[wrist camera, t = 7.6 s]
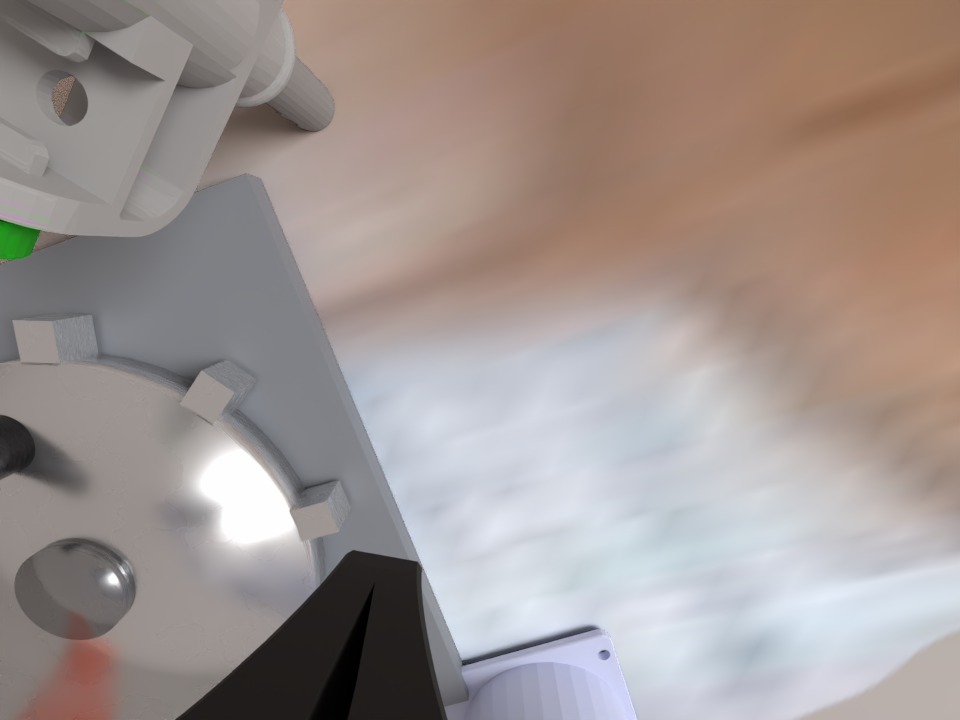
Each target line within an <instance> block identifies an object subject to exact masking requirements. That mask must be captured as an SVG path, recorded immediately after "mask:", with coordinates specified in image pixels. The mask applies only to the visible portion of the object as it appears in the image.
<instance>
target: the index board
mask: <svg viewBox="0 0 960 720" xmlns="http://www.w3.org/2000/svg"><path fill="white" fill-rule="evenodd" d="M50 314H90V315H92V318H93V324H94V330H95V336H96V342H97V348H98V353H102V354H108V355H114V356H120V357H126V358H131V359H135V360H138V361H142V362H145V363H149V364H152V365H156V366H159V367H162V368H164V369H167V370H169V371H171V372H174V373H176V374H179V375H181V376H183V377H186V378H188V379H190V380H192V381H195V379H196V378H197V376H198V375H199V373H200V372H201V370H204V369H206V368H208V367H211V366H213V365H215V364H217V363H220V362H222V361H224V360H228V361H230V362H231V363H233V364H234V365H236V366H237V367H239V368H240V369H242V370H243V371H244V372H246V373H247V374H249V375H250V376H252V377H253V378H255V379H256V382H255V383H254V385H253V386H252V388H251V389H250V391H249V392H248V394H247V395H246V396H245V398H244V399H243V401H242V402H241V404H240V405H239V407H238V408H237V409H238V410H239V411H241V412H242V413H243V414H245V415H246V416H247V417H248V418H249V419H250V420H251V421H252V422H253V423H254V424H255V425H257V426H258V427H259V428H260V429H261V430H262V431H263V432H264V433H265V434H266V435H267V436H268V437H269V438H270V440H271V441H272V442H273V443H274V444H275V445H276V446H277V448H278V449H279V450H280V451H281V452H282V453H283V455H284V456H285V457H286V459H287V460H288V462H289V463H290V465H291V466H292V468H293V469H294V471H295V472H296V474H297V475H298V477H299V478H300V480H301V482H302V484H303V486H304V488H305V489H308V488H311V487H315V486H319V485H322V484H326V483H330V482H333V481H337V480H340V483H341V486H342V488H343V491H344V493H345V496H346V498H347V501H348V503H349V506H350V510H349V512H348V514H347V516H346V518H345V520H344V522H343V524H342V526H341V528H340V530H339V532H336V533H333V534H329V535H325V536H322V539H323V544H324V550H325V566H326V578H327V577H328V575H329V574H330V573H331V572H332V571H333V570H334V568H335V567H336V566H337V565H338V563H339V562H340V561H341V560H342V558H343V557H344V556H345V554H347V553H349V552H350V551H352V550H356V551H362V552H367V553H373V554H379V555H384V556H390V557H396V558H401V559H407V560H412V561H418V563H419V564H420V565H421V567H422V564H421V562H420V559H419V557H418V555H417V552H416V550H415V547H414V545H413V543H412V540H411V538H410V535H409V533H408V531H407V528H406V526H405V523H404V521H403V519H402V516H401V514H400V511H399V509H398V507H397V504H396V502H395V499H394V497H393V495H392V492H391V490H390V488H389V485H388V483H387V480H386V478H385V476H384V473H383V471H382V468H381V466H380V464H379V461H378V459H377V456H376V454H375V452H374V449H373V447H372V444H371V442H370V440H369V437H368V435H367V432H366V430H365V428H364V425H363V423H362V420H361V418H360V416H359V413H358V411H357V408H356V406H355V404H354V401H353V399H352V396H351V394H350V392H349V389H348V387H347V384H346V382H345V380H344V377H343V375H342V372H341V370H340V368H339V365H338V363H337V360H336V358H335V356H334V353H333V351H332V348H331V346H330V344H329V341H328V339H327V336H326V334H325V332H324V329H323V327H322V324H321V322H320V320H319V317H318V315H317V312H316V310H315V308H314V305H313V303H312V300H311V298H310V296H309V293H308V291H307V288H306V286H305V284H304V281H303V279H302V276H301V274H300V272H299V269H298V267H297V264H296V262H295V260H294V257H293V255H292V252H291V250H290V248H289V245H288V243H287V240H286V238H285V236H284V233H283V231H282V228H281V226H280V224H279V221H278V219H277V216H276V214H275V212H274V209H273V207H272V204H271V202H270V200H269V197H268V195H267V192H266V190H265V188H264V185H263V183H262V180H261V178H258V177H255V176H252V175H249V174H243V175H241V176H238V177H235V178H233V179H230V180H227V181H224V182H222V183H219V184H216V185H214V186H211V187H208V188H206V189H203V190H200V191H197V192H195V193H194V194H193V196H192V198H191V199H190V201H189V202H188V204H187V205H186V206H185V208H184V209H183V210H182V211H181V212H180V214H179V215H178V216H177V217H176V218H175V219H173V220H172V221H171V222H170V223H169V224H168V225H166V226H165V227H163V228H162V229H160V230H158V231H156V232H154V233H152V234H149V235H145V236H142V237H112V236H83V235H79V236H76V237H73V238H70V239H68V240H65V241H62V242H60V243H57V244H54V245H52V246H49V247H46V248H43V249H41V250H38V251H35V252H33V253H31V254H30V255H29V256H27V257H25V258H20V259H14V260H11V261H8V262H6V263H3V264H0V363H3V362H8V361H12V360H16V359H20V355H19V350H18V345H17V340H16V336H15V331H14V326H13V321H12V320H17V319H23V318H30V317H36V316H43V315H50ZM422 598H423V607H424V615H425V622H426V628H427V634H428V639H429V644H430V649H431V654H432V659H433V664H434V669H435V673H436V677H437V681H438V686H439V690H440V693H441V697H442V701H443V704H444V707H446V706H449V705H453V704H457V703H461V702H464V701H468V700H469V690H468V688H467V686H466V683H465V681H464V678H463V676H462V673H461V672H462V666H464V665H463V663H462V660H461V658H460V655H459V653H458V651H457V648H456V646H455V643H454V641H453V639H452V636H451V634H450V631H449V629H448V627H447V624H446V622H445V619H444V617H443V615H442V612H441V610H440V607H439V605H438V603H437V600H436V598H435V595H434V593H433V591H432V588H431V586H430V583H429V581H428V579H427V576H426V574H425V571H424V569H423V567H422Z"/></svg>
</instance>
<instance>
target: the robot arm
mask: <svg viewBox="0 0 960 720" xmlns="http://www.w3.org/2000/svg"><path fill="white" fill-rule="evenodd" d="M601 650H606V651H604V652H600V651H601ZM461 673H462V676H463V678H464V681H465V683H466V686H467V688H468V690H469V700H468V701H464V702H461V703H457V704H453V705H449V706H446V707H444V704H443V701H442V697H441V693H440V690H439V686H438V681H437V677H436V673H435V669H434V664H433V659H432V654H431V649H430V644H429V639H428V634H427V628H426V622H425V615H424V607H423V598H422V567H421V565H420V564H419V563H418V561H412V560H407V559H401V558H396V557H390V556H384V555H379V554H373V553H367V552H362V551H356V550H352V551H350V552H349V553H347V554H345V556H344V557H343V558H342V560H341V561H340V562H339V563H338V565H337V566H336V567H335V568H334V570H333V571H332V572H331V573H330V574H329V575H328V577H327V578H326V579H325V580H324V581H323V582H322V583H321V584H320V586H319V587H318V588H317V589H316V590H315V591H314V592H313V593H312V594H311V595H310V596H309V598H308V599H307V600H306V601H305V602H304V603H303V604H302V605H301V606H300V607H299V608H298V609H297V610H296V611H295V612H294V613H293V614H292V615H291V616H290V617H289V618H288V619H287V620H286V621H285V622H284V623H283V624H282V625H281V626H280V627H279V628H278V629H277V630H276V631H275V632H274V633H273V634H272V635H271V636H270V637H269V638H268V639H267V640H266V641H265V642H264V643H263V644H261V645H260V646H259V647H258V648H257V649H256V650H255V651H254V652H253V653H252V654H250V655H249V656H248V657H247V658H246V659H245V660H244V661H243V662H242V663H241V664H240V665H238V666H237V667H236V668H235V669H234V670H233V671H232V672H231V673H230V674H229V675H228V676H226V677H225V678H224V679H223V680H222V681H221V682H220V683H218V684H217V685H216V686H215V687H214V688H213V689H211V690H210V691H209V692H208V693H207V694H206V695H204V696H203V697H202V698H201V699H200V700H199V701H197V702H196V703H195V704H194V705H192V706H191V707H190V708H189V709H188V710H186V711H185V712H184V713H183V714H182V715H180V716H179V717H178V718H176V719H175V720H637V718H636V714H635V711H634V708H633V705H632V702H631V699H630V696H629V693H628V690H627V687H626V683H625V680H624V677H623V674H622V671H621V668H620V665H619V662H618V659H617V655H616V652H615V649H614V646H613V643H612V640H611V637H610V635H609V633H608V632H607V631H605V630H602V629H597V630H592V631H589V632H585V633H581V634H578V635H574V636H571V637H567V638H563V639H560V640H556V641H552V642H549V643H545V644H541V645H538V646H534V647H530V648H527V649H523V650H520V651H516V652H512V653H509V654H505V655H501V656H498V657H494V658H490V659H487V660H483V661H480V662H476V663H472V664H469V665H465V666H462V672H461Z"/></svg>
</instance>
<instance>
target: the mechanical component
mask: <svg viewBox="0 0 960 720" xmlns="http://www.w3.org/2000/svg"><path fill="white" fill-rule="evenodd" d="M283 1H284V0H0V259H20V258H25V257H27V256H29V255H30V254H31V252H32V250H33V247H34V245H35V242H36V240H37V238H38V235H39V233H40V231H41V230H42V231H47V232H53V233H59V234H67V235H83V236H112V237H142V236H145V235H149V234H152V233H154V232H156V231H158V230H160V229H162V228H163V227H165V226H166V225H168V224H169V223H170V222H171V221H172V220H173V219H175V218H176V217H177V216H178V215H179V214H180V212H181V211H182V210H183V209H184V208H185V206H186V205H187V204H188V202H189V201H190V199H191V198H192V196H193V194H194V192H195V190H196V188H197V186H198V184H199V182H200V180H201V177H202V175H203V173H204V171H205V169H206V167H207V164H208V162H209V160H210V158H211V156H212V154H213V152H214V149H215V147H216V145H217V143H218V141H219V139H220V137H221V134H222V132H223V130H224V128H225V126H226V124H227V121H228V119H229V117H230V115H231V113H232V111H233V109H234V106H237V107H253V106H258V105H261V104H263V103H267V104H268V105H270V106H271V107H272V108H274V109H275V110H276V111H277V113H278V114H280V115H281V116H282V117H284V118H286V119H287V120H292V121H294V122H295V123H296V126H298V127H301V128H303V129H306V130H309V131H320V130H322V129H324V128H325V127H326V126H327V125H328V124H329V123H330V122H331V120H332V118H333V114H334V100H333V98H332V96H331V94H330V93H329V91H328V90H327V88H326V87H325V86H324V84H323V83H322V82H321V81H320V80H319V79H318V78H317V77H316V76H315V75H314V74H313V73H312V72H311V71H310V69H309V68H308V67H307V66H306V65H304V64H303V63H302V62H301V61H300V59H299V58H298V57H297V56H296V49H295V39H294V34H293V30H292V27H291V24H290V22H289V20H288V18H287V15H286V14H285V12H284V10H283V9H282V7H281V5H282V3H283ZM69 76H73V77H76V78H75V81H74V83H73V86H72V89H71V91H70V94H69V96H68V99H67V101H66V104H65V107H64V109H63V112H62V114H61V116H60V118H59V117H58V115H57V114H56V113H55V110H54V107H53V104H52V93H53V89H54V87H55V85H56V83H58V82H59V81H60V80H61V79H63V78H66V77H69Z"/></svg>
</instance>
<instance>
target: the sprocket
mask: <svg viewBox="0 0 960 720" xmlns="http://www.w3.org/2000/svg"><path fill="white" fill-rule="evenodd" d="M12 321H13V326H14V331H15V336H16V340H17V345H18V350H19V355H20V359H16V360H12V361H8V362H3V363H0V720H175V719H176V718H178V717H179V716H180V715H182V714H183V713H184V712H185V711H186V710H188V709H189V708H190V707H191V706H192V705H194V704H195V703H196V702H197V701H199V700H200V699H201V698H202V697H203V696H204V695H206V694H207V693H208V692H209V691H210V690H211V689H213V688H214V687H215V686H216V685H217V684H218V683H220V682H221V681H222V680H223V679H224V678H225V677H226V676H228V675H229V674H230V673H231V672H232V671H233V670H234V669H235V668H236V667H237V666H238V665H240V664H241V663H242V662H243V661H244V660H245V659H246V658H247V657H248V656H249V655H250V654H252V653H253V652H254V651H255V650H256V649H257V648H258V647H259V646H260V645H261V644H263V643H264V642H265V641H266V640H267V639H268V638H269V637H270V636H271V635H272V634H273V633H274V632H275V631H276V630H277V629H278V628H279V627H280V626H281V625H282V624H283V623H284V622H285V621H286V620H287V619H288V618H289V617H290V616H291V615H292V614H293V613H294V612H295V611H296V610H297V609H298V608H299V607H300V606H301V605H302V604H303V603H304V602H305V601H306V600H307V599H308V598H309V596H310V595H311V594H312V593H313V592H314V591H315V590H316V589H317V588H318V587H319V586H320V584H321V583H322V582H323V581H324V580H325V579H326V566H325V550H324V544H323V539H322V536H325V535H329V534H333V533H336V532H339V530H340V528H341V526H342V524H343V522H344V520H345V518H346V516H347V514H348V512H349V510H350V506H349V503H348V501H347V498H346V496H345V493H344V491H343V488H342V486H341V483H340V480H337V481H333V482H330V483H326V484H322V485H319V486H315V487H311V488H308V489H305V488H304V486H303V484H302V482H301V480H300V478H299V477H298V475H297V474H296V472H295V471H294V469H293V468H292V466H291V465H290V463H289V462H288V460H287V459H286V457H285V456H284V455H283V453H282V452H281V451H280V450H279V449H278V448H277V446H276V445H275V444H274V443H273V442H272V441H271V440H270V438H269V437H268V436H267V435H266V434H265V433H264V432H263V431H262V430H261V429H260V428H259V427H258V426H257V425H255V424H254V423H253V422H252V421H251V420H250V419H249V418H248V417H247V416H246V415H245V414H243V413H242V412H241V411H239V410H238V409H237V408H238V407H239V405H240V404H241V402H242V401H243V399H244V398H245V396H246V395H247V394H248V392H249V391H250V389H251V388H252V386H253V385H254V383H255V382H256V379H255V378H253V377H252V376H250V375H249V374H247V373H246V372H244V371H243V370H242V369H240V368H239V367H237V366H236V365H234V364H233V363H231V362H230V361H228V360H224V361H222V362H220V363H217V364H215V365H213V366H211V367H208V368H206V369H204V370H201V372H200V373H199V375H198V376H197V378H196V379H195V381H192V380H190V379H188V378H186V377H183V376H181V375H179V374H176V373H174V372H171V371H169V370H167V369H164V368H162V367H159V366H156V365H152V364H149V363H145V362H142V361H138V360H135V359H131V358H126V357H120V356H114V355H108V354H102V353H98V348H97V342H96V336H95V330H94V324H93V318H92V315H90V314H50V315H43V316H36V317H30V318H23V319H17V320H12Z"/></svg>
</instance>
